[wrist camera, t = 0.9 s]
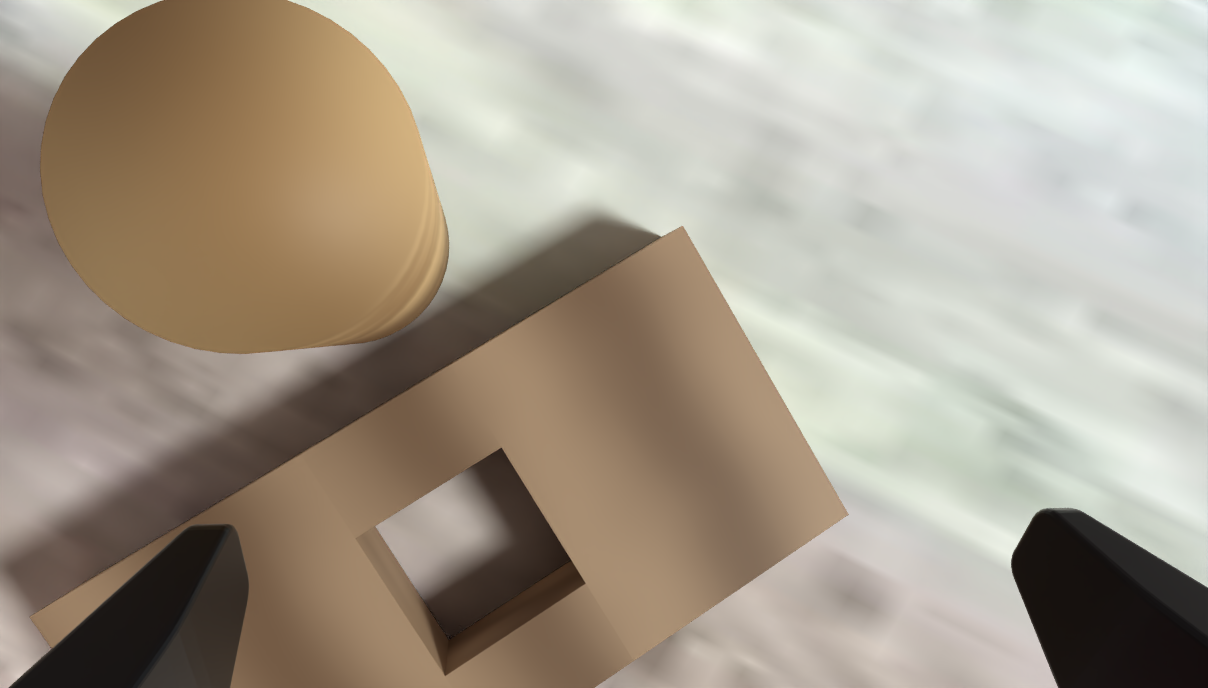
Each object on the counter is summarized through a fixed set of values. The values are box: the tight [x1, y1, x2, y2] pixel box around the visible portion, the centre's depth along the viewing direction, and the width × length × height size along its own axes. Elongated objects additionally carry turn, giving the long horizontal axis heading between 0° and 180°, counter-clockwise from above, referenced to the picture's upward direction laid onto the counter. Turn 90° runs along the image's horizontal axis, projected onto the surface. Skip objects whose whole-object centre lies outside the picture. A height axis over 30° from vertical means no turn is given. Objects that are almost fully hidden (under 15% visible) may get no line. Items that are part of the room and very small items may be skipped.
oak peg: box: [40, 0, 449, 354], centre depth 16 cm, size 4×4×14 cm
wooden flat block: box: [30, 226, 849, 688], centre depth 22 cm, size 20×10×2 cm, turn 121°
